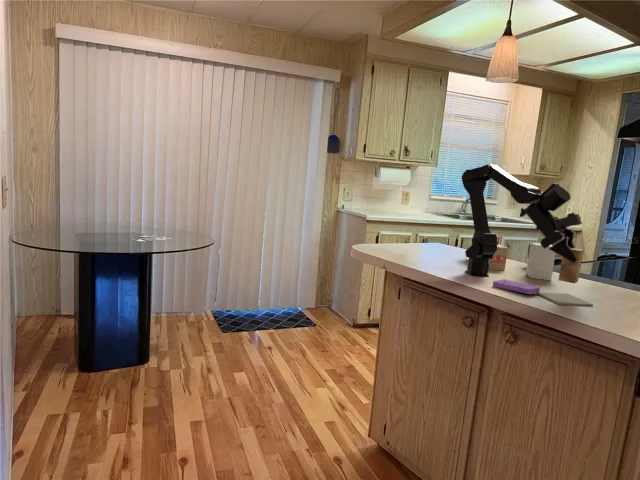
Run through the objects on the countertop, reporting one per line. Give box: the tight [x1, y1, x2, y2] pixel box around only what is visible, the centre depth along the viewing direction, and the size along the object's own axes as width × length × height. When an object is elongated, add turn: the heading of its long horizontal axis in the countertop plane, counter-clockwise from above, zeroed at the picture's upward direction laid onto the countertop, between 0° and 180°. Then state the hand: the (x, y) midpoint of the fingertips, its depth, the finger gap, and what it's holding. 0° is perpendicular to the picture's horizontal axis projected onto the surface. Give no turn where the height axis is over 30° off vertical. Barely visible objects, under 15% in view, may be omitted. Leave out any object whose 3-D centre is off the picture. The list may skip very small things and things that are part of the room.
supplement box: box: [525, 242, 557, 281], centre depth 166 cm, size 7×7×13 cm
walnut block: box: [557, 247, 584, 284], centre depth 135 cm, size 4×4×10 cm
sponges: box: [492, 278, 541, 295], centre depth 144 cm, size 7×13×2 cm, turn 39°
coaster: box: [535, 291, 594, 307], centre depth 136 cm, size 11×11×1 cm
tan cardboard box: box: [473, 231, 509, 271], centre depth 185 cm, size 21×6×12 cm, turn 1°
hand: (576, 260), depth 134 cm, fingers closed on walnut block, 4 cm apart
